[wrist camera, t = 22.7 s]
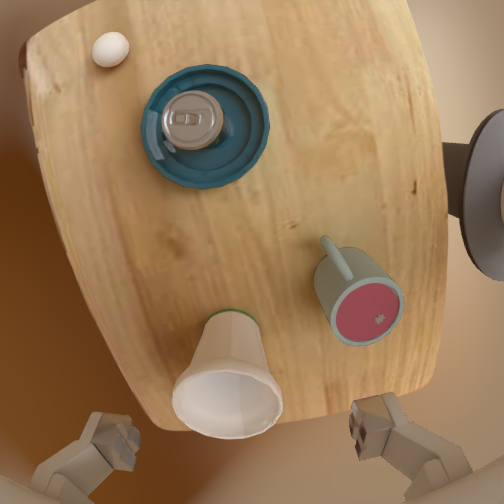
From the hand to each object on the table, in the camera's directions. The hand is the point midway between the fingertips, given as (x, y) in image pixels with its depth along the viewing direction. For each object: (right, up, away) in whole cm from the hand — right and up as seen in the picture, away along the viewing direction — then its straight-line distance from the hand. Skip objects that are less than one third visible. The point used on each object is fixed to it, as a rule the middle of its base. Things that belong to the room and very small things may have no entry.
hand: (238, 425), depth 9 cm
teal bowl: (-5, +21, +25) cm, 33 cm away
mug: (+12, +4, +32) cm, 34 cm away
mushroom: (-17, +32, +21) cm, 42 cm away
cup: (-3, -6, +35) cm, 36 cm away
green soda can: (-5, +21, +25) cm, 33 cm away
